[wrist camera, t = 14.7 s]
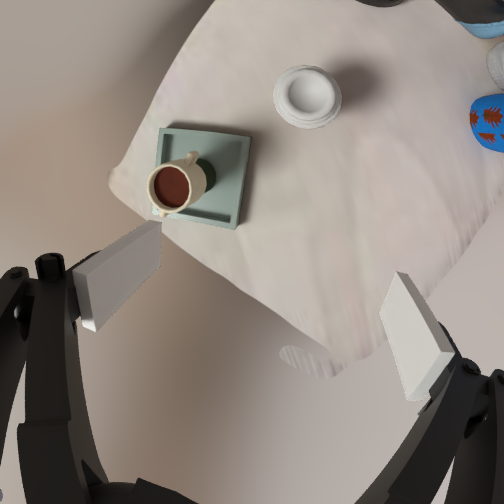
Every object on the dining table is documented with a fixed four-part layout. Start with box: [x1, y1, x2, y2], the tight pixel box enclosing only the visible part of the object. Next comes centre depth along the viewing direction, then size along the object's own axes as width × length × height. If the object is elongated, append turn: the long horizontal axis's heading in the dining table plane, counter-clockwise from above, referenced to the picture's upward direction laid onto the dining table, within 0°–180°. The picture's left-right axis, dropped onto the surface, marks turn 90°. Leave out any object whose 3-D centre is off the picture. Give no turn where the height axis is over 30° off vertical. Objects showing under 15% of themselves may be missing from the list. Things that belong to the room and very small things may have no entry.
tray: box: [152, 128, 252, 230], centre depth 48 cm, size 16×16×2 cm
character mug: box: [147, 151, 216, 217], centre depth 42 cm, size 11×7×13 cm, turn 150°
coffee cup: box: [273, 65, 342, 129], centre depth 36 cm, size 9×9×12 cm
